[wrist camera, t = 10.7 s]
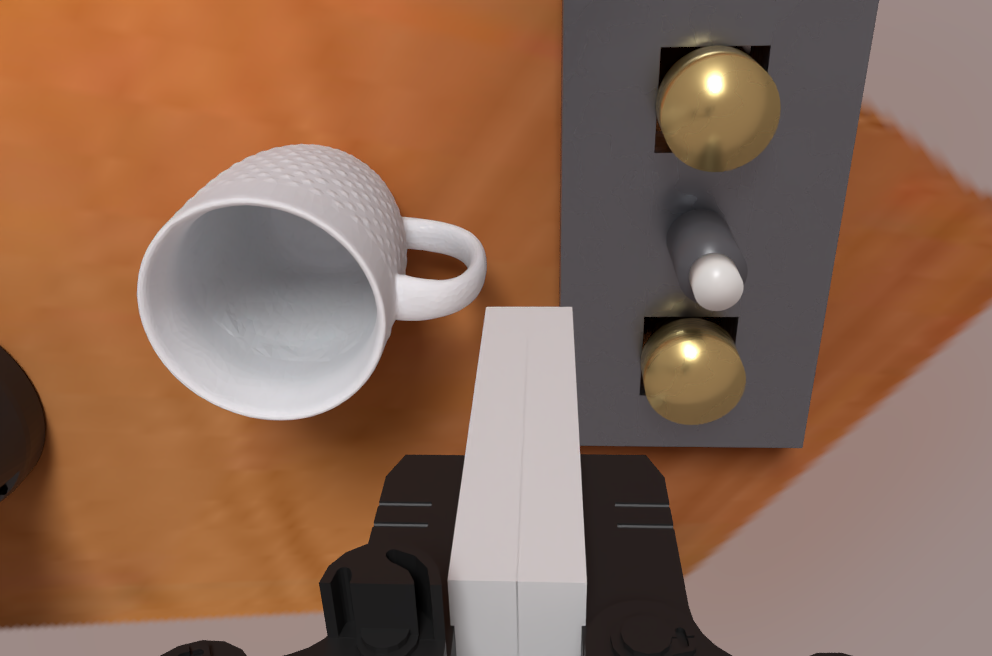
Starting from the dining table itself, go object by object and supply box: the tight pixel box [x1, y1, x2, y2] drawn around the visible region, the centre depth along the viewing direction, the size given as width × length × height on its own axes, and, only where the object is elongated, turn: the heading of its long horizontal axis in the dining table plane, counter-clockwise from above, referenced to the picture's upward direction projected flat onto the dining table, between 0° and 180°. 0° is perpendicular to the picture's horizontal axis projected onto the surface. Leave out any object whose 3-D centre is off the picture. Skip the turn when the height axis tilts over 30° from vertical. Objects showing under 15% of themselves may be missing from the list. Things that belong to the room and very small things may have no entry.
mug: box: [137, 144, 487, 420], centre depth 43 cm, size 15×11×13 cm
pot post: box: [667, 209, 748, 311], centre depth 42 cm, size 3×3×6 cm
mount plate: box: [559, 0, 879, 448], centre depth 46 cm, size 14×26×4 cm, turn 2°
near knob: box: [656, 45, 781, 172], centre depth 41 cm, size 5×5×6 cm
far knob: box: [641, 317, 746, 425], centre depth 48 cm, size 5×5×6 cm
